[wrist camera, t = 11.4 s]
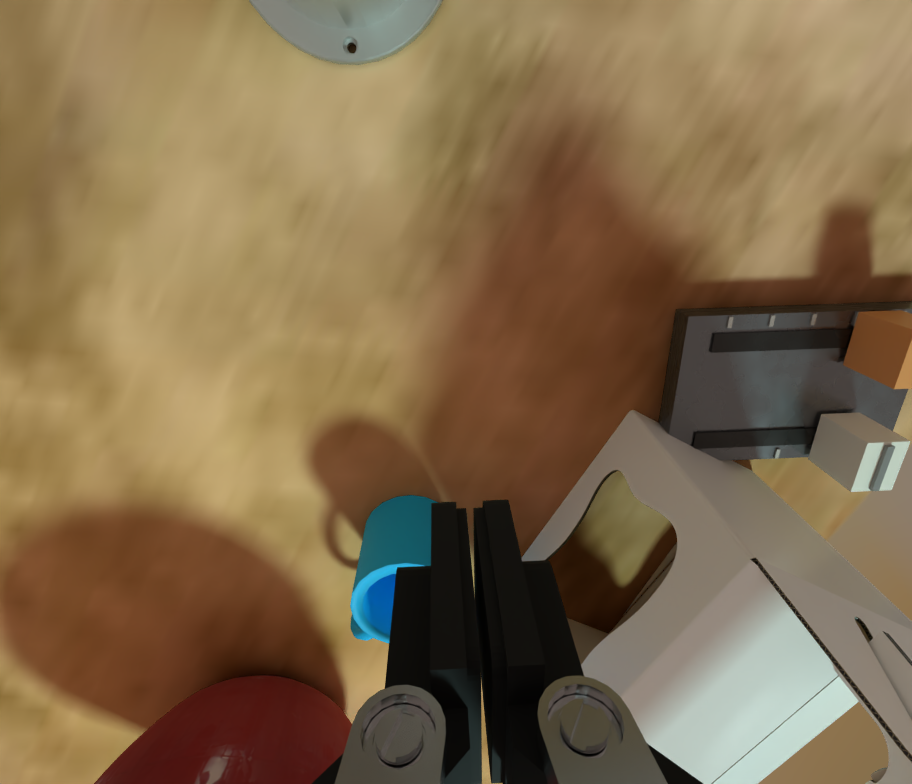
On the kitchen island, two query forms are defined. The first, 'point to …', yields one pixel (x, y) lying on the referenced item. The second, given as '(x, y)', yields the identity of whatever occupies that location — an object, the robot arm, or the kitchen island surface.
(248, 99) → the kitchen island surface
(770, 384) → the console
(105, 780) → the mixing bowl
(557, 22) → the kitchen island surface
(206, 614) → the kitchen island surface
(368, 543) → the mug
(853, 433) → the fader ivory
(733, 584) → the gable box
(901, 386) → the fader orange
